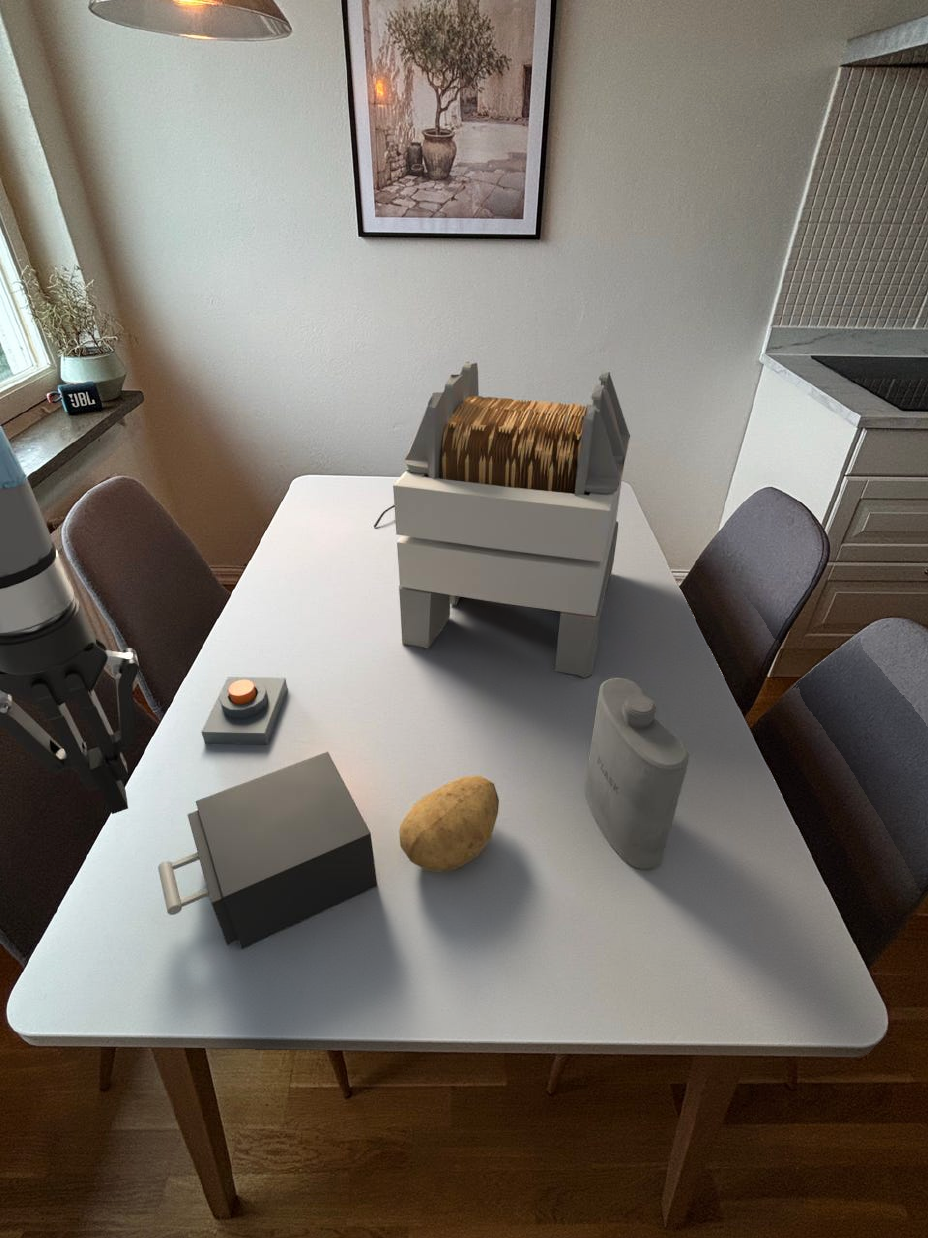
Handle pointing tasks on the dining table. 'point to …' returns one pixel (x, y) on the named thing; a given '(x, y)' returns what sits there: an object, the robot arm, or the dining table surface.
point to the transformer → (511, 510)
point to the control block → (246, 713)
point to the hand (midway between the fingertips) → (118, 801)
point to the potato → (450, 824)
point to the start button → (242, 691)
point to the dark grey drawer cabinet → (287, 847)
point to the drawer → (212, 883)
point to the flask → (633, 773)
